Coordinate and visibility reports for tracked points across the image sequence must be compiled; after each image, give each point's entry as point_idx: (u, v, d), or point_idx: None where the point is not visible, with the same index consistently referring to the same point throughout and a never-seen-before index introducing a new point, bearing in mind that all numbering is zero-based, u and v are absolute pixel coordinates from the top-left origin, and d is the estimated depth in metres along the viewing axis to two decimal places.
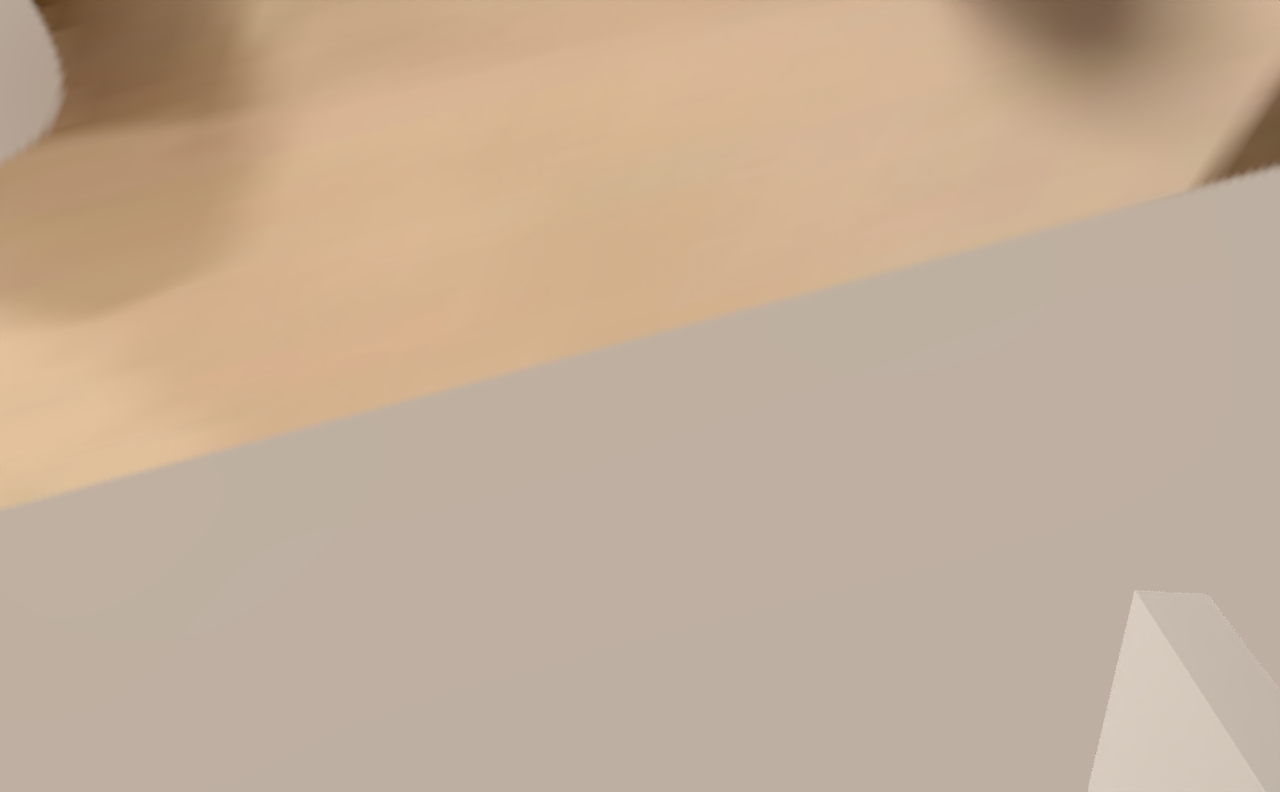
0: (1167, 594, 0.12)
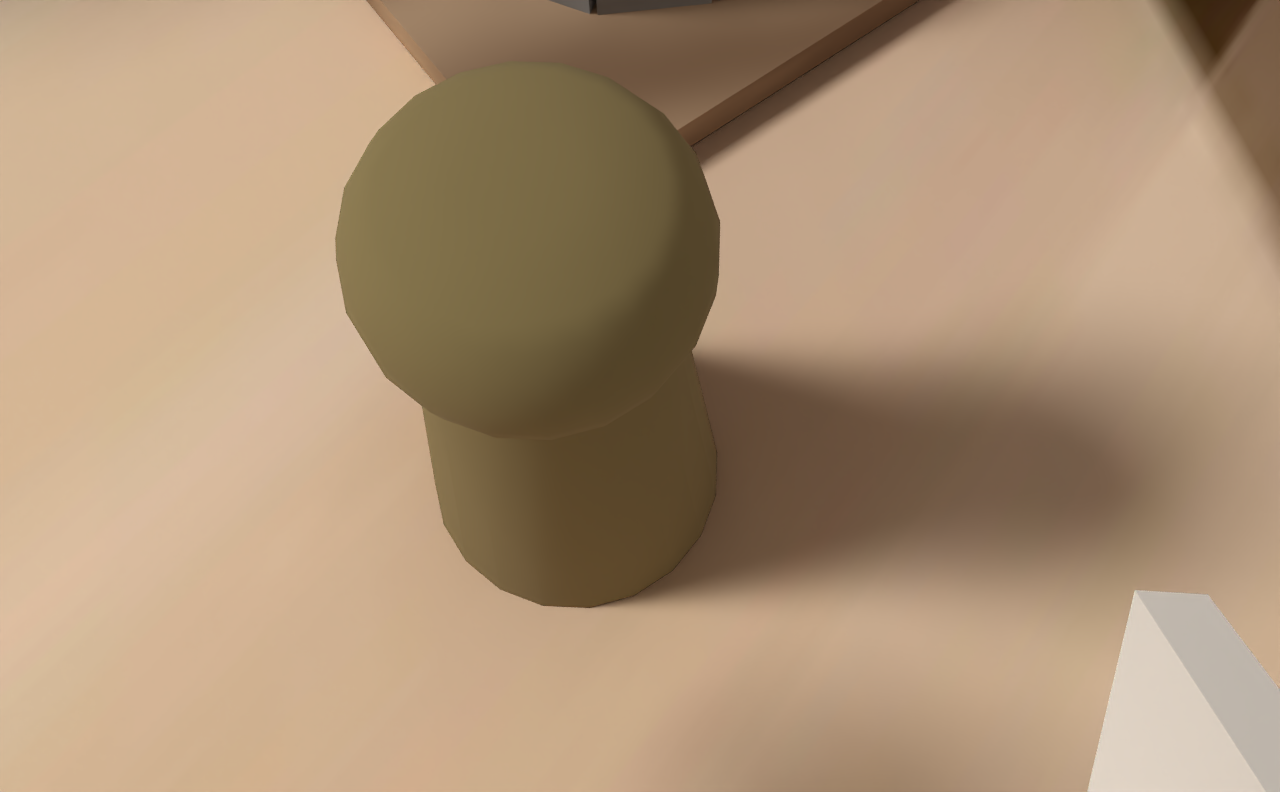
0: (1168, 595, 0.12)
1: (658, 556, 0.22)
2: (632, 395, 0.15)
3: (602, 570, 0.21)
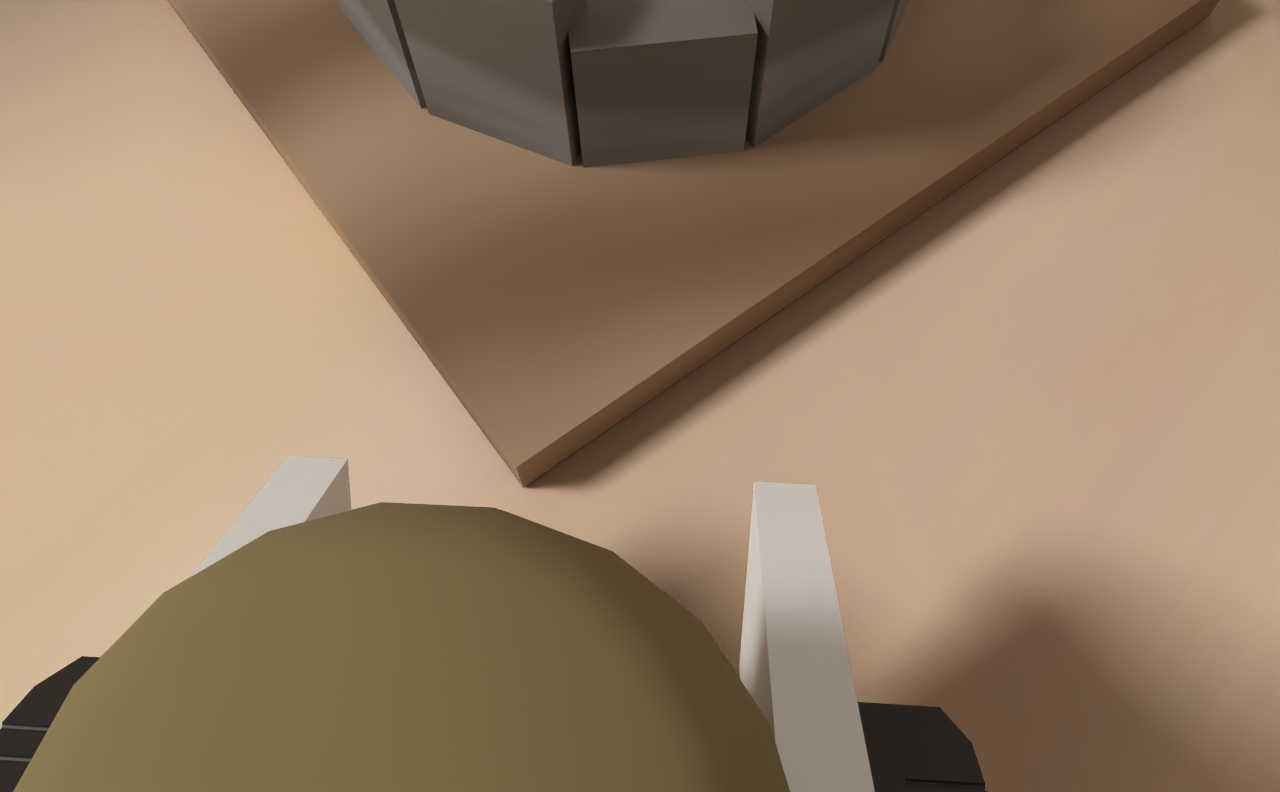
0: (780, 485, 0.14)
1: None
2: None
3: None
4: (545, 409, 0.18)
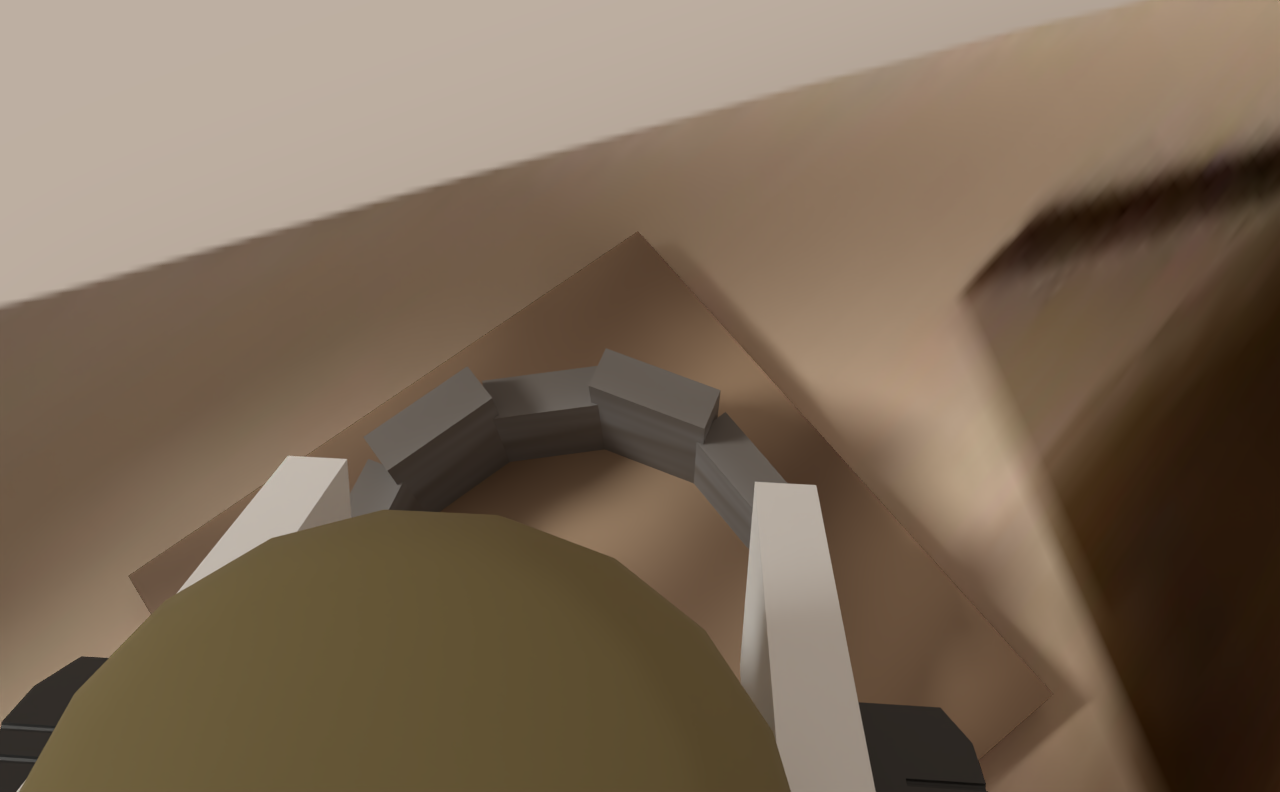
0: (780, 486, 0.14)
1: None
2: None
3: None
4: None
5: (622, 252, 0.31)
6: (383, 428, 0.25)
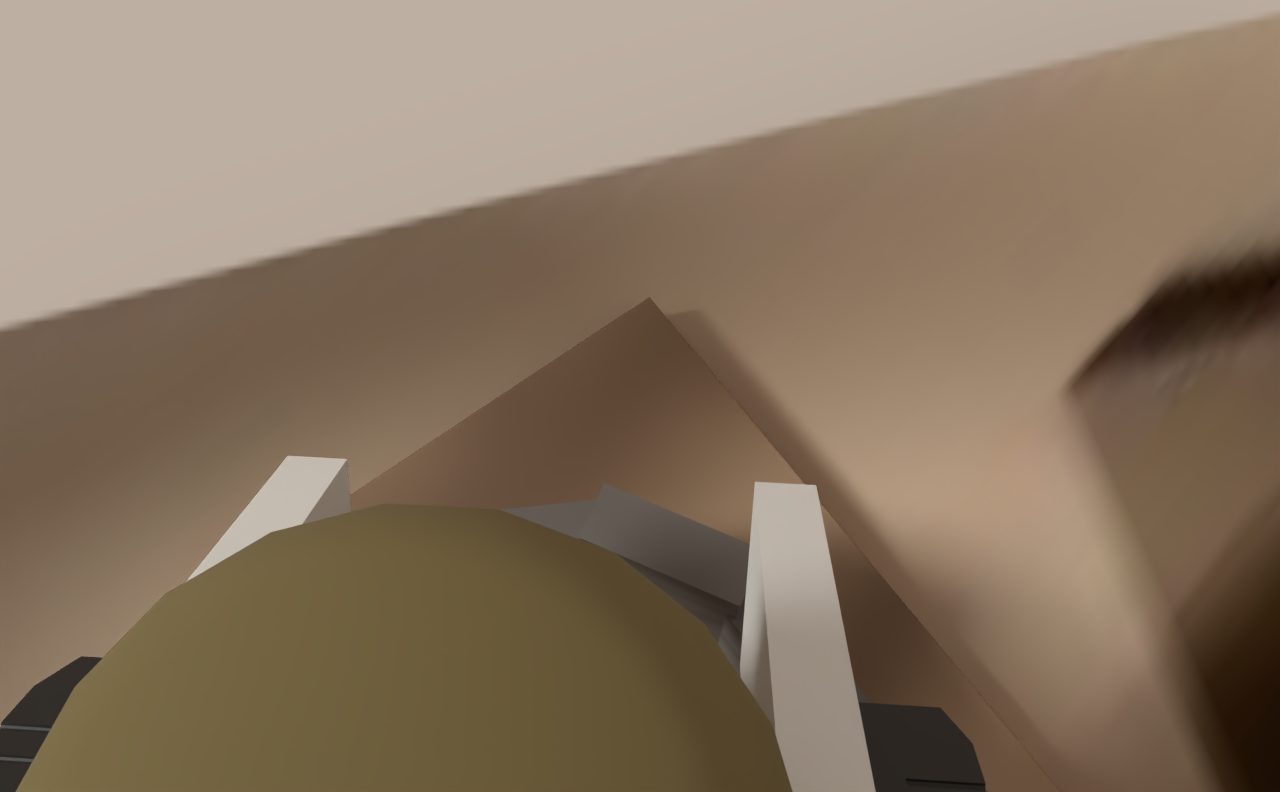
0: (780, 485, 0.14)
1: None
2: None
3: None
4: None
5: (628, 325, 0.24)
6: None
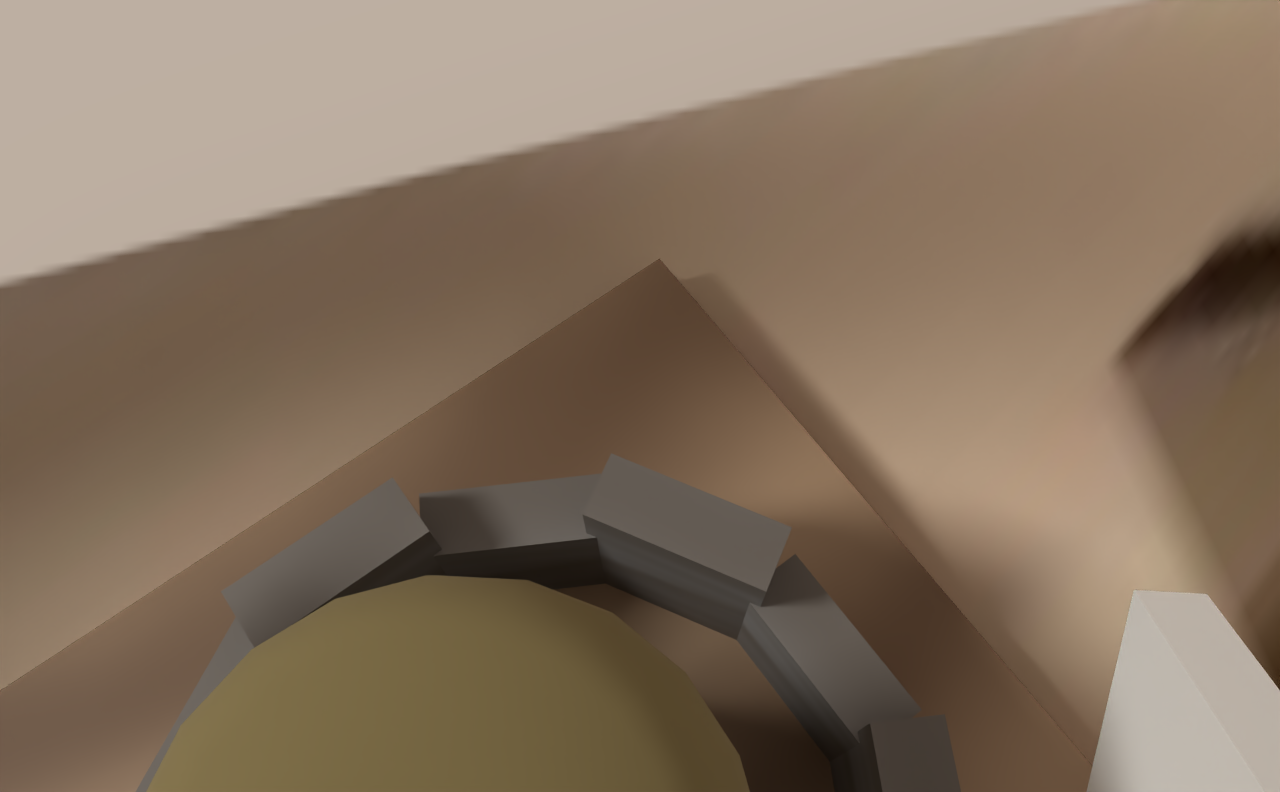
0: (1167, 594, 0.12)
1: None
2: None
3: None
4: None
5: (636, 288, 0.22)
6: (254, 577, 0.16)
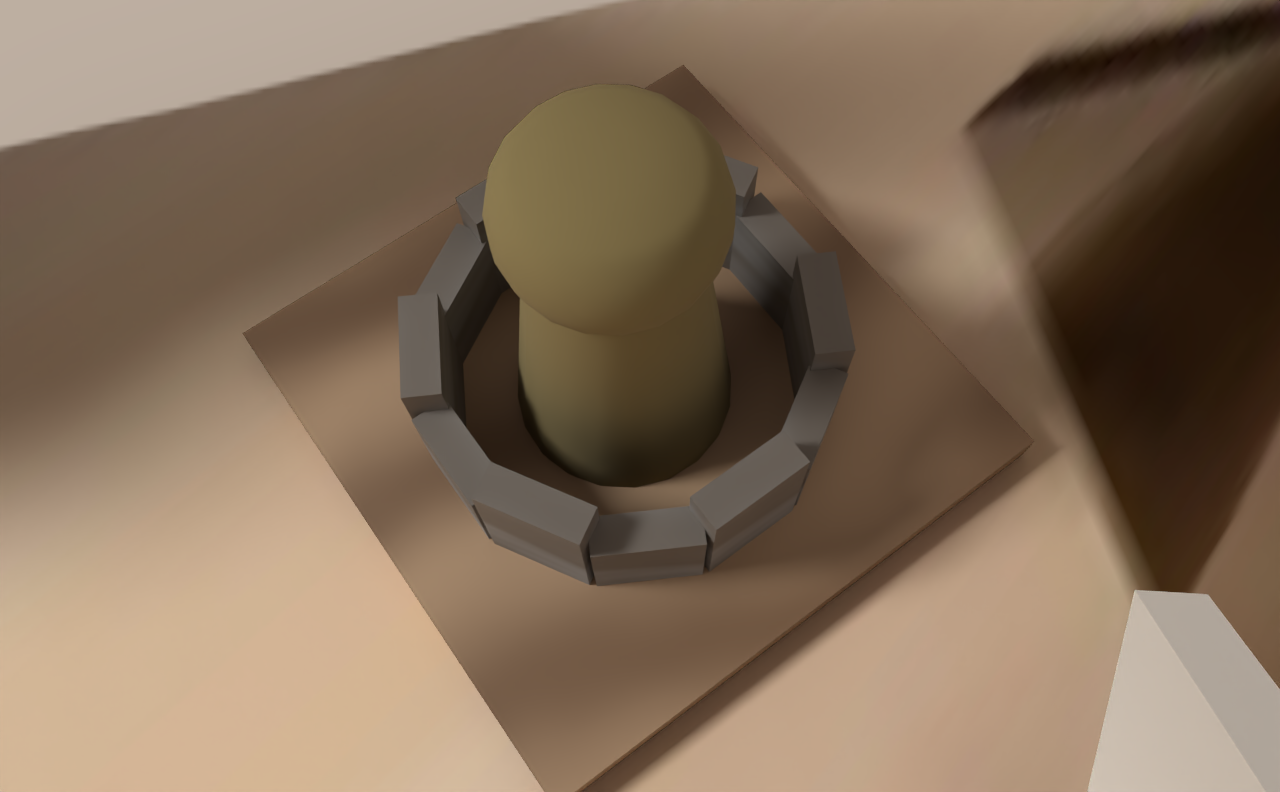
0: (1167, 594, 0.12)
1: (688, 446, 0.30)
2: (678, 303, 0.22)
3: (647, 453, 0.29)
4: (573, 766, 0.28)
5: (669, 82, 0.36)
6: (472, 191, 0.30)
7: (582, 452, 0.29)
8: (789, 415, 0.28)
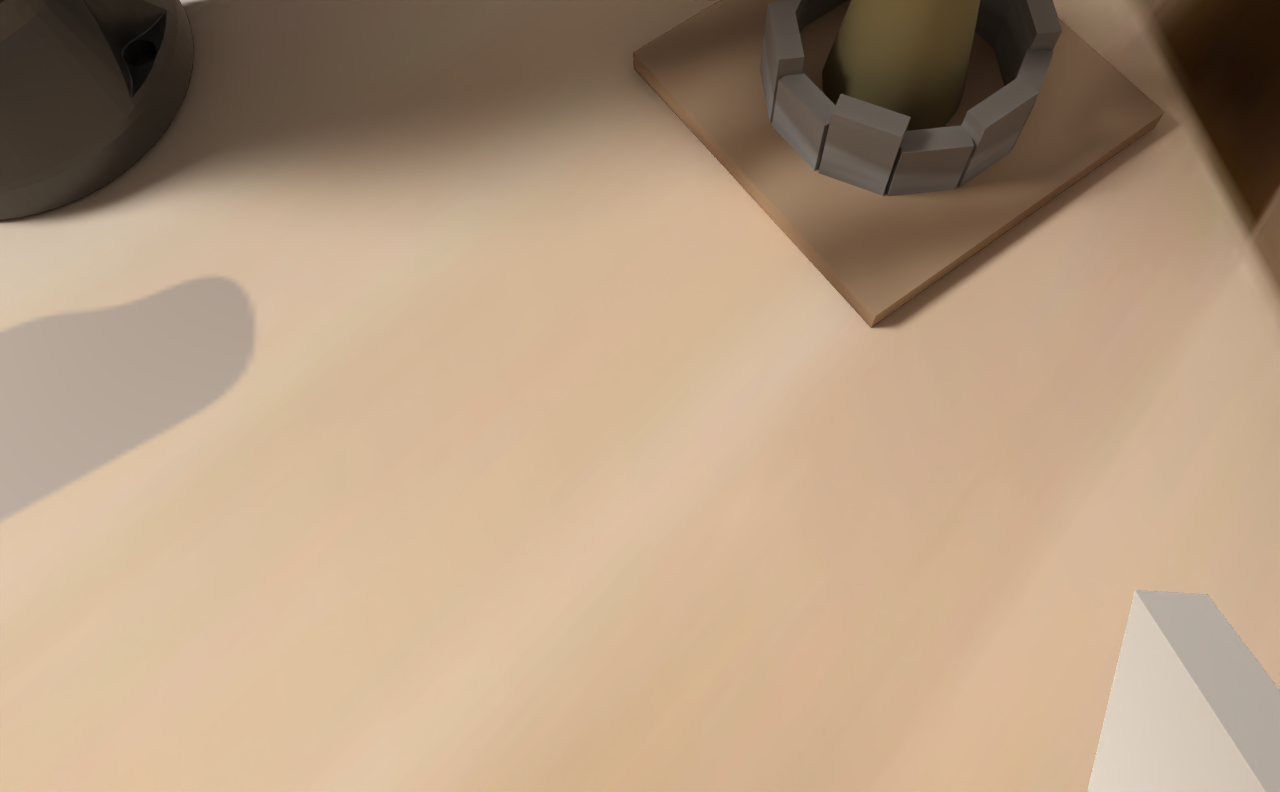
0: (1168, 594, 0.12)
1: (945, 107, 0.46)
2: None
3: (923, 107, 0.45)
4: (884, 294, 0.44)
5: None
6: None
7: None
8: (1018, 75, 0.44)
